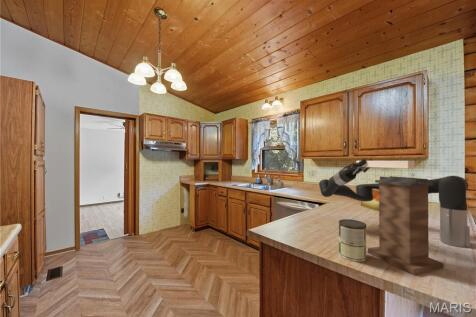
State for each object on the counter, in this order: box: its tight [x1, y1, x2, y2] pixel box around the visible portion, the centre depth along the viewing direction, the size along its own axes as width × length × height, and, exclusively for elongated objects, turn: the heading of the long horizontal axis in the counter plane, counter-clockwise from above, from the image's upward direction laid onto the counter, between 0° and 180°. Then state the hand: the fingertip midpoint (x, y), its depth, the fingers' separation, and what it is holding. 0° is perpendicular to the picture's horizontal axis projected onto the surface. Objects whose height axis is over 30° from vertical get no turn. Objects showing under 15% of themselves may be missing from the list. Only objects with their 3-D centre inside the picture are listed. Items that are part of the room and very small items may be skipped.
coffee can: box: [338, 218, 367, 263], centre depth 86 cm, size 10×10×14 cm
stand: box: [367, 175, 445, 276], centre depth 83 cm, size 18×16×34 cm
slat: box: [355, 160, 416, 169], centre depth 91 cm, size 24×4×3 cm, turn 16°
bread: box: [360, 189, 379, 212], centre depth 174 cm, size 25×12×15 cm, turn 5°
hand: (368, 160), depth 97 cm, fingers closed on slat, 3 cm apart
